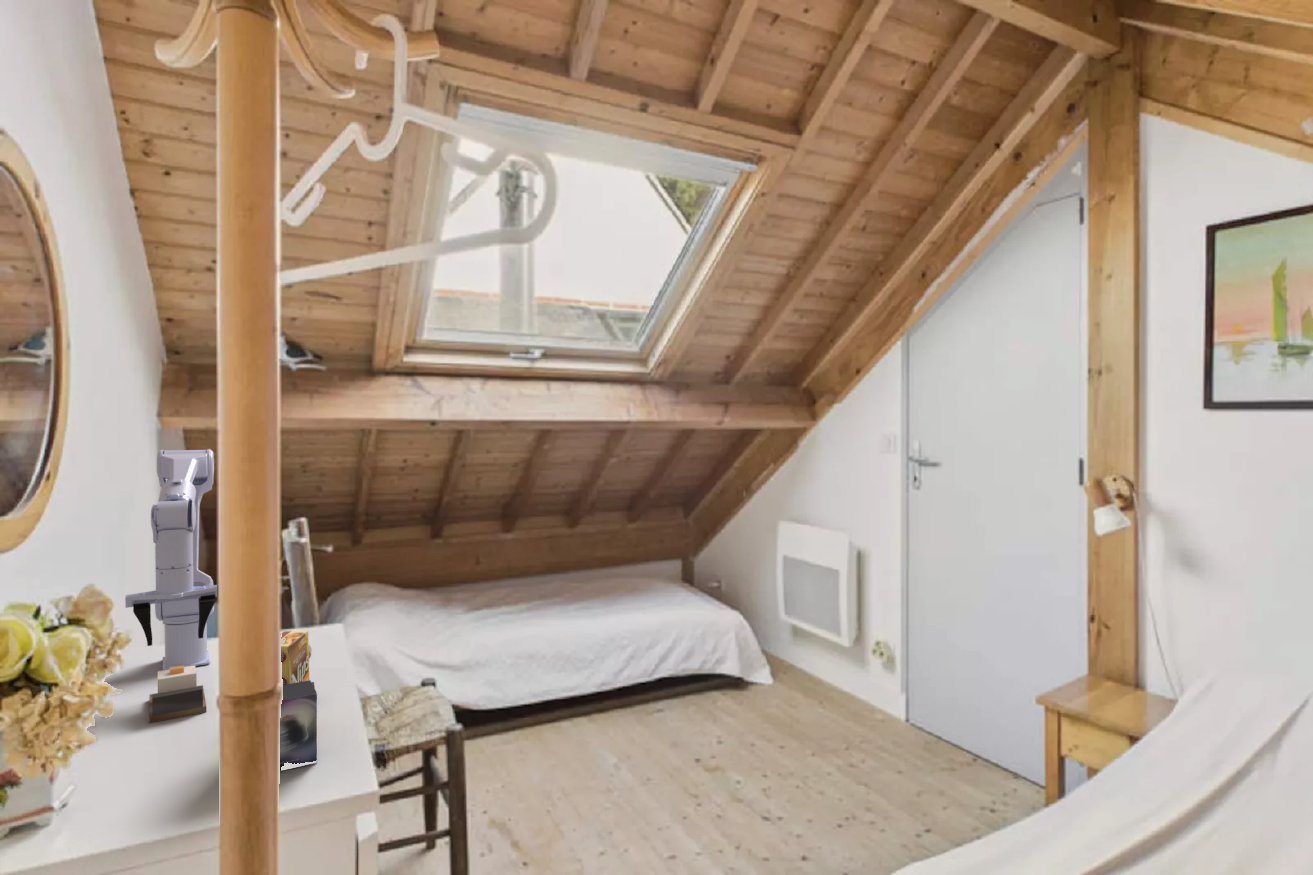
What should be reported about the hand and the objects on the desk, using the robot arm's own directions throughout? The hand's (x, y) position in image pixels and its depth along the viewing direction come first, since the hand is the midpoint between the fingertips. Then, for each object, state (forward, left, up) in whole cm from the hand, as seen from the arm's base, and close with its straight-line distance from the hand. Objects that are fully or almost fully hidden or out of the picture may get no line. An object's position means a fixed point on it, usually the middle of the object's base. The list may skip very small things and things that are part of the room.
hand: (175, 640), depth 132 cm
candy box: (+32, +14, -10) cm, 36 cm away
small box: (+42, +11, -10) cm, 44 cm away
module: (+8, 0, -8) cm, 12 cm away
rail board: (+8, 0, -9) cm, 12 cm away
